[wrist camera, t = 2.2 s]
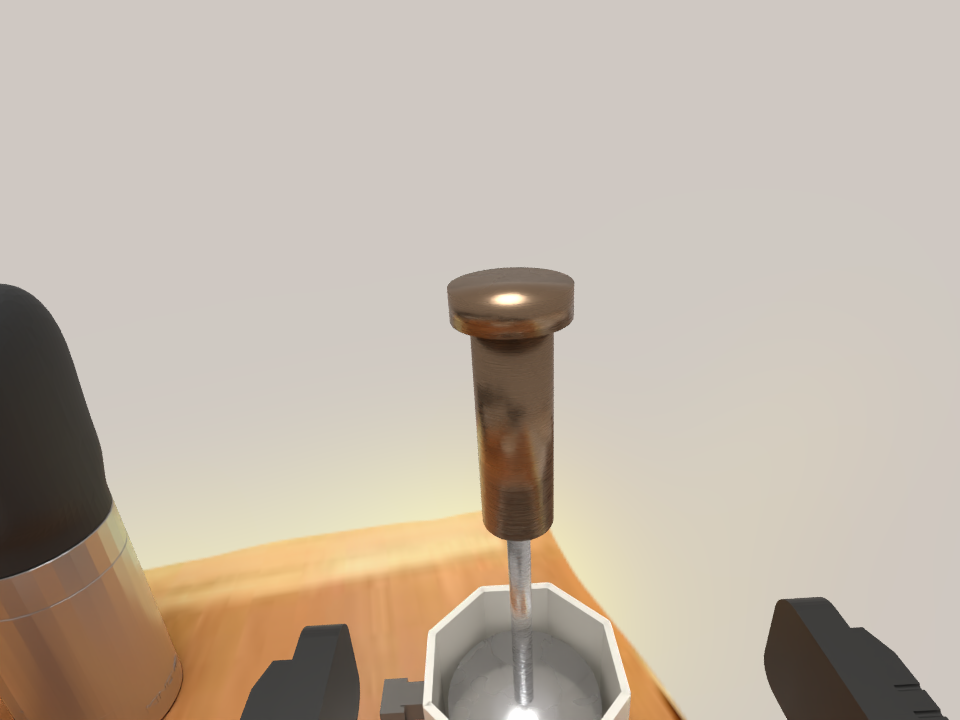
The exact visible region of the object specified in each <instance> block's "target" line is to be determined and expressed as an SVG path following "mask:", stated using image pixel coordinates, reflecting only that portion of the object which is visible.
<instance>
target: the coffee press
mask: <svg viewBox="0 0 960 720" xmlns="http://www.w3.org/2000/svg"><path fill="white" fill-rule="evenodd" d="M531 597H532V631H537V632H542V633H545V634H548V635H551V636H554V637H556V638H558V639H560V640H562V641H563V642H565V643H566V644H568V645H569V646H571V647H572V648H573V649H574V650H576V651H577V652H578V653H579V654H580V655H581V656H582V657H583V659H584V660H585V661H586V663H587V664H588V665H589V667H590V669H591V670H592V672H593V674H594V676H595V678H596V681H597V683H598V687H599V690H600V695H601V701H602V716H601V720H629V710H630V699H631V692H630V689H629V685H628V682H627V678H626V675H625V671H624V668H623V664H622V661H621V657H620V654H619V650H618V647H617V643H616V640H615V636H614V633H613V629H612V625H611V622H610V621H609V620H608V619H606V618H605V617H603V616H602V615H600V614H598V613H597V612H595V611H594V610H592V609H591V608H589V607H587V606H586V605H584V604H583V603H581V602H579V601H578V600H576V599H575V598H573V597H572V596H570V595H568V594H567V593H565V592H564V591H562V590H561V589H559V588H557V587H556V586H554V585H553V584H551V583H549V582H548V583H531ZM507 631H511V614H510V592H509V585H497V586H481V587H479V588H478V589H477V590H476V591H474V592H473V593H472V594H471V595H470V596H469V597H468V598H466V599H465V600H464V601H463V602H462V603H461V604H460V605H458V606H457V607H456V608H455V609H454V610H453V611H451V612H450V613H449V614H448V615H447V616H446V617H445V618H443V619H442V620H441V621H440V622H439V623H438V624H437V625H435V626H434V627H433V628H432V629H431V630H430V631H429V632H428V641H427V654H426V668H425V681H419V682H408V678H400V679H385V681H384V688H383V694H382V701H381V708H380V718H381V720H449V711H448V695H449V688H450V684H451V680H452V677H453V675H454V672H455V670H456V669H457V667H458V665H459V663H460V662H461V660H462V659H463V658H464V656H465V655H466V654H467V653H468V652H469V651H470V650H471V649H472V648H473V647H475V646H476V645H477V644H479V643H480V642H482V641H483V640H485V639H487V638H489V637H491V636H493V635H496V634H499V633H502V632H507Z"/></svg>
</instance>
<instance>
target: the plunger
mask: <svg viewBox="0 0 960 720" xmlns="http://www.w3.org/2000/svg"><path fill="white" fill-rule="evenodd" d="M447 293H448V305H449V317H450V323H451V325H452V327H453V328H455V329H456V330H458V331H460V332H462V333H464V334H468V335H470V336H471V352H472V366H473V381H474V395H475V410H476V426H477V439H478V440H477V441H478V456H479V471H480V484H481V485H480V486H481V498H482V499H481V500H482V516H483V522H484V525H485V527H486V528H487V530H488V531H489V532H491V533H492V534H493V535H495V536H497V537H499V538H501V539H504V540H507V547H508V569H509V592H510V614H511V631H507V632H502V633H499V634H496V635H493V636H491V637H489V638H487V639H485V640H483V641H482V642H480V643H479V644H477V645H476V646H475V647H473V648H472V649H471V650H470V651H469V652H468V653H467V654H466V655H465V656H464V658H463V659H462V660H461V662H460V663H459V665H458V667H457V669H456V670H455V672H454V675H453V677H452V680H451V684H450V688H449V695H448V711H449V720H601V716H602V701H601V695H600V690H599V687H598V683H597V681H596V678H595V676H594V674H593V672H592V670H591V669H590V667H589V665H588V664H587V663H586V661H585V660H584V659H583V657H582V656H581V655H580V654H579V653H578V652H577V651H576V650H574V649H573V648H572V647H571V646H569V645H568V644H566V643H565V642H563V641H562V640H560V639H558V638H556V637H554V636H551V635H548V634H545V633H542V632H537V631H532V597H531V552H530V540H532V539H535V538H537V537H539V536H541V535H543V534H544V533H546V532H547V531H548V530H549V528H550V527H551V525H552V523H553V508H554V507H553V504H554V503H553V502H554V501H553V495H554V494H553V489H554V488H553V486H554V485H553V481H554V478H553V476H554V475H553V474H554V473H553V469H554V468H553V466H554V465H553V464H554V463H553V461H554V459H553V457H554V456H553V451H554V450H553V449H554V447H553V444H554V443H553V442H554V437H553V436H554V435H553V432H554V431H553V425H554V421H553V420H554V419H553V417H554V415H553V414H554V409H553V408H554V402H553V401H554V399H553V397H554V394H553V393H554V392H553V391H554V390H553V389H554V386H553V385H554V381H553V379H554V368H553V367H554V366H553V365H554V364H553V363H554V359H553V358H554V357H553V355H554V352H553V351H554V346H553V345H554V335H553V334H554V332H556V331H559V330H561V329H563V328H565V327H566V326H568V325H569V324H570V323H571V322H572V320H573V316H574V281H573V279H572V278H571V277H569V276H568V275H565V274H563V273H560V272H557V271H553V270H547V269H540V268H524V267H516V268H497V269H489V270H483V271H478V272H473V273H470V274H466V275H463V276H460V277H458V278H456V279H454V280H453V281H451V282H450V283H449V284H448V286H447Z"/></svg>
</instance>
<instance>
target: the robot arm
mask: <svg viewBox="0 0 960 720" xmlns="http://www.w3.org/2000/svg"><path fill="white" fill-rule="evenodd" d="M764 665H765V671H766V675H767V679H768V682H769V685H770V687H771V690H772V692H773V693H774V695H775V697H776V699H777V701H778V703H779V705H780V707H781V709H782V711H783V712H784V714H785V716H786V718H787V720H948V718H947V717H943V716H942V714H941V711H940V708H939V707H938V706H937V705H936V703H935V702H934V701H933V700H932V699H931V697H930V696H929V695H928V693H927V692H926V691H925V690H922V689H921V688H920V684H919V682H918V681H917V680H916V679H915V677H914V676H913V675H912V674H911V672H910V671H909V670H908V668H907V667H906V666H905V665H904V664H903V662H902V661H901V660H900V658H898V656H897V655H896V654H895V653H894V652H893V651H892V650H891V649H889V648H888V647H887V646H886V645H884V644H883V643H882V642H881V641H879V640H878V639H877V638H876V637H874V636H873V635H872V634H870V633H869V632H868V631H867V630H865V629H864V628H863V627H860V628H850V627H849V626H848V624H847V623H846V622H845V620H844V619H843V618H842V616H841V615H840V614H839V612H838V611H837V610H836V608H835V607H834V606H833V605H832V603H830V602H829V601H828V600H827V599H825V598H823V597H812V598H795V599H781V600H779V601H778V602H777V603H776V606H775V610H774V614H773V619H772V623H771V627H770V631H769V636H768V640H767V645H766V648H765V653H764ZM182 676H183V674H182V666H181V663H180V661H179V659H178V656H177V654H176V651H175V649H174V646H173V644H172V641H171V639H170V637H169V634H168V631H167V629H166V626H165V624H164V621H163V619H162V616H161V614H160V612H159V609H158V607H157V604H156V602H155V599H154V597H153V594H152V592H151V590H150V587H149V585H148V582H147V580H146V577H145V575H144V573H143V570H142V568H141V566H140V563H139V560H138V558H137V556H136V553H135V551H134V548H133V546H132V543H131V541H130V539H129V536H128V534H127V531H126V529H125V527H124V525H123V522H122V520H121V517H120V515H119V512H118V510H117V507H116V505H115V503H114V500H113V498H112V496H111V493H110V491H109V488H108V485H107V483H106V478H105V472H104V464H103V457H102V451H101V446H100V443H99V440H98V436H97V433H96V430H95V428H94V425H93V422H92V420H91V416H90V413H89V410H88V408H87V404H86V401H85V398H84V395H83V392H82V389H81V386H80V382H79V379H78V376H77V373H76V370H75V367H74V363H73V360H72V358H71V355H70V352H69V349H68V346H67V343H66V341H65V339H64V337H63V335H62V333H61V330H60V328H59V327H58V325H57V323H56V322H55V320H54V318H53V317H52V315H51V314H50V312H49V311H48V310H47V309H46V308H45V307H44V305H43V304H42V303H41V302H40V301H39V300H38V299H36V298H35V297H34V296H33V295H31V294H30V293H28V292H26V291H25V290H23V289H21V288H19V287H15V286H11V285H7V284H0V697H1V699H2V701H3V702H4V704H5V705H6V707H7V708H8V710H9V712H10V713H11V715H12V716H13V718H14V719H15V720H161V719H162V718H163V717H164V715H165V714H166V713H167V712H168V710H169V709H170V707H171V706H172V704H173V702H174V701H175V699H176V697H177V695H178V692H179V689H180V687H181V682H182ZM359 700H360V683H359V675H358V670H357V666H356V661H355V657H354V652H353V647H352V643H351V638H350V634H349V629H348V627H347V625H346V624H335V625H318V626H306V627H305V628H304V629H303V630H302V632H301V634H300V637H299V640H298V643H297V647H296V650H295V653H294V656H293V659H292V660H279V661H273V662H272V663H271V664H270V666H269V667H268V668H267V670H266V671H265V672H264V674H263V675H262V676H261V677H260V679H259V680H258V681H257V683H256V684H255V685H254V687H253V688H252V689H251V692H250V694H249V697H248V700H247V702H246V705H245V708H244V710H243V713H242V716H241V718H240V720H357V718H358V711H359Z"/></svg>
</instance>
